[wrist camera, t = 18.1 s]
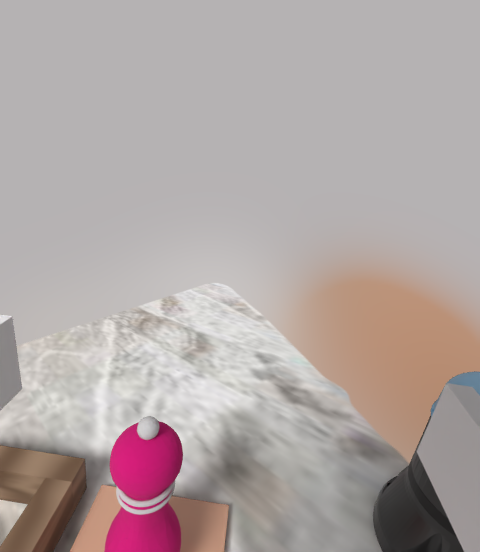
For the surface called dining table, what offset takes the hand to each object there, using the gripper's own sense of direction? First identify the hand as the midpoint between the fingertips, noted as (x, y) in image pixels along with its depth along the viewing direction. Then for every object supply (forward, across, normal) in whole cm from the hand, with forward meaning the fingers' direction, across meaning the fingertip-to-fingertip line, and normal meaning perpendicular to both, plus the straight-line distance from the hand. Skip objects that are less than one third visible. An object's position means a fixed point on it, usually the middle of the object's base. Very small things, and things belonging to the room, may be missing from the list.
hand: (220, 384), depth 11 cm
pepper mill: (+12, -6, -35) cm, 38 cm away
